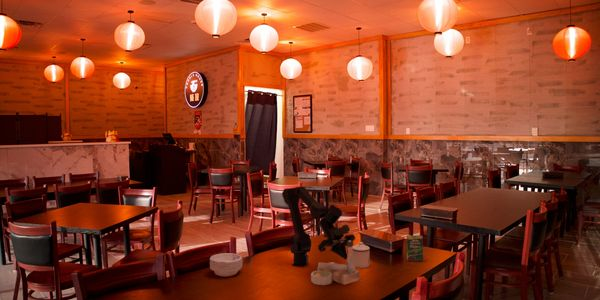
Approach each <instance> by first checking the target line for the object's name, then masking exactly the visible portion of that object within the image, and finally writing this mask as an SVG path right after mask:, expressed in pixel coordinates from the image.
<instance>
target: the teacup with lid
mask: <svg viewBox="0 0 600 300" xmlns="http://www.w3.org/2000/svg"><path fill="white" fill-rule="evenodd" d="M370 250H371V248H370V247H369V246H368V245H366V244H364V242H362V241H359V242H358V243H357V244H355V245H353V246H352V264H354V265H355V268H357V269H365V268H369V267H370V265H371V263H370V259H371V258H370V257H371V256H370V252H371V251H370Z"/></svg>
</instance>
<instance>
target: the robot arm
mask: <svg viewBox="0 0 600 300" xmlns="http://www.w3.org/2000/svg"><path fill="white" fill-rule="evenodd" d="M281 195H282V198H283V201H284V203H285V204H286V205H287V206H288V208H289V214H290V219H291V221H292V222H291V223H292V225H293V230H294V237H293V240H292V241H293V244H292V246H291V247H290V250H289V251H290V253H292V254H293V263H292V264H291V265H292V266H295V267H306V266H307V265H308V264H309V255H308V253H310V252H311V247H312V239H311V234H310V233H307V232H306V231H305V227H304V223H303V218H302V215H301V210H300V205H299V202H300V200H301V201H302V203H304V205H306V206H307V208H308V209H309V214H310V215H311V217H312V219H314V220H319V221H317V224H316V225H317V226H316V227H317V228H321V230H322V232H323V233H324V234H323V238H327V239H323V240H322V241H321V242H320V243H319V245H318V246H317V247H318V248H317V249H318V251H319V253H321V252H325V251H326V248H328V247H330V250H329V251H330V252H333V253H334V254H336V255H338V256H339V257H341V258H342V259H343V260H347V245H346V242H347V241H348V240H352V241H353V242H354V241H355V240H356V239H357V238H356V237H355V235H354V234H353V233H350V234H349V232H350V231H351V229H350V227H349V225H348V224H344V225H342V226H341V227H338V226H335V224H336V223H337V222H338V221H339V219H340V218H341V217H342V215H343V211H342V210H341V209H340V208H339V207H337V206H335V204H330V205H329V208H328V207H327V205H324V204H323V203H321V202H318V201H317V200H316V199H315V198H314V197H313V196H312V195H311V194H310V193H309V191H308V190H307V189H306V187H305V186H296V187H289V188H288V187H287V188H284V189H283V191H282V193H281Z"/></svg>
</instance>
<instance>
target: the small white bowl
mask: <svg viewBox="0 0 600 300" xmlns="http://www.w3.org/2000/svg"><path fill="white" fill-rule="evenodd" d="M316 274H321V276H322V277H318V276H315V275H316ZM310 280H311V283H312V284H314V285H317V286H326V285H331V284H332V283H333V280H332V273H331V272H329V271H323V270H320V271H318V270H315V271H312V272H311V273H310Z"/></svg>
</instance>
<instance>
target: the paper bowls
mask: <svg viewBox="0 0 600 300" xmlns="http://www.w3.org/2000/svg"><path fill="white" fill-rule="evenodd" d="M209 268H210V270H211V271H214V274H215V275H217V276H219V277H231V276H234V275H236V274H237V273H238V271H240V270H241V269H242V268H243V257H242V255H241V254H237V253H232V252H231V253H230V252H229V253H228V252H227V253H225V252H224V253H218V254H213V255H211V256H210V258H209Z"/></svg>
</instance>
